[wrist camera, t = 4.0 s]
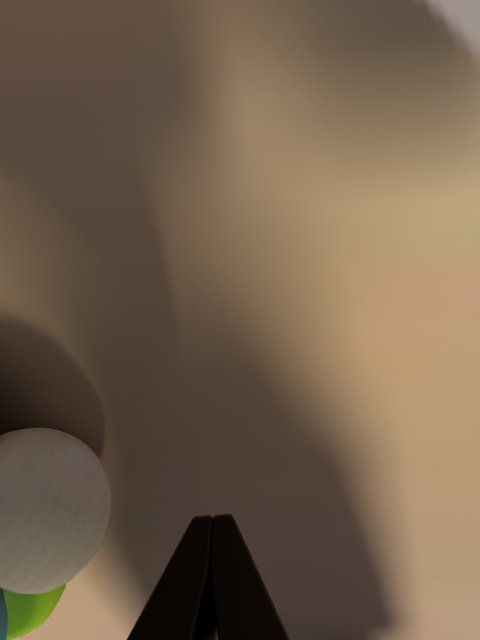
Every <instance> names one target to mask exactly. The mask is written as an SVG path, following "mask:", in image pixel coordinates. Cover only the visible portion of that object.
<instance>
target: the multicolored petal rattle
mask: <svg viewBox="0 0 480 640" xmlns="http://www.w3.org/2000/svg"><path fill="white" fill-rule="evenodd" d="M110 512H111V489H110V483H109V479H108V476H107V474H106V471H105V469H104V467H103V465H102V463H101V461H100V460H99V458H98V457H97V455H96V454H95V453H94V452H93V450H92V449H91V448H90V447H89V446H87V445H86V444H85V443H83V442H82V441H81V440H79V439H78V438H76V437H74V436H72V435H70V434H67V433H65V432H62V431H59V430H55V429H50V428H42V427H41V428H26V429H21V430H15V431H11V432H8V433H5V434H2V435H0V640H10V639H14V638H17V637H20V636H22V635H24V634H27V633H29V632H30V631H32V630H34V629H35V628H37V627H38V626H40V625H41V624H42V623H43V622H44V621H45V620H46V619H47V618H48V617H49V616H50V614H51V613H52V611H53V610H54V608H55V606H56V605H57V603H58V601H59V599H60V597H61V595H62V593H63V591H64V589H65V586H66V583H67V582H69V581H70V580H71V579H72V578H74V577H75V576H76V575H77V574H78V573H79V572H80V571H81V570H82V569H83V568H84V567H85V566H86V564H87V563H88V562H89V561H90V560H91V558H92V557H93V555H94V554H95V552H96V551H97V549H98V547H99V545H100V544H101V542H102V540H103V537H104V535H105V532H106V529H107V526H108V522H109V518H110Z"/></svg>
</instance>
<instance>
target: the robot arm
mask: <svg viewBox="0 0 480 640" xmlns="http://www.w3.org/2000/svg"><path fill="white" fill-rule="evenodd" d="M217 635H218V640H290V639H289V637H288V634H287V632H286V630H285V628H284V626H283V624H282V621H281V619H280V617H279V615H278V613H277V611H276V608H275V606H274V604H273V602H272V600H271V597H270V595H269V593H268V591H267V589H266V587H265V584H264V582H263V580H262V578H261V576H260V574H259V571H258V569H257V567H256V565H255V563H254V561H253V558H252V556H251V554H250V552H249V550H248V547H247V545H246V543H245V541H244V539H243V537H242V534H241V532H240V530H239V528H238V526H237V524H236V521H235V519H234V517H233V516H232V515H231V514H221V515H215V516H214V517H212V516H210V515H207V516H196V517H194V518H193V519H192V520H191V522H190V524H189V526H188V528H187V529H186V531H185V533H184V535H183V537H182V539H181V540H180V542H179V544H178V546H177V548H176V550H175V552H174V553H173V555H172V557H171V559H170V561H169V563H168V564H167V566H166V568H165V570H164V572H163V574H162V575H161V577H160V579H159V581H158V583H157V585H156V587H155V588H154V590H153V592H152V594H151V596H150V598H149V599H148V601H147V603H146V605H145V607H144V609H143V611H142V612H141V614H140V616H139V618H138V620H137V622H136V623H135V625H134V627H133V629H132V631H131V633H130V634H129V636H128V638H127V640H216V639H217Z"/></svg>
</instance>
